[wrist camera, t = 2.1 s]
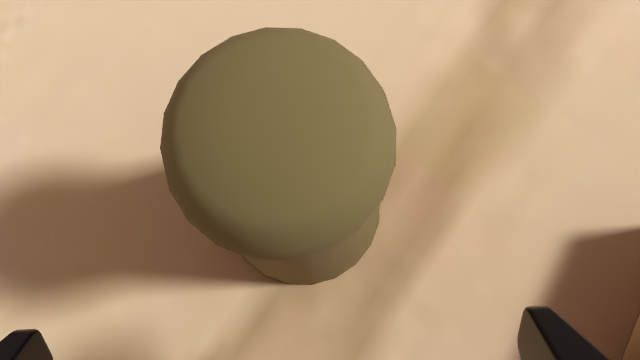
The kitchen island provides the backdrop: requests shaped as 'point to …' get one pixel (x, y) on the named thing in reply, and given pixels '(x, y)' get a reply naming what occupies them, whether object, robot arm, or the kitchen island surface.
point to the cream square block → (633, 344)
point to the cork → (281, 152)
